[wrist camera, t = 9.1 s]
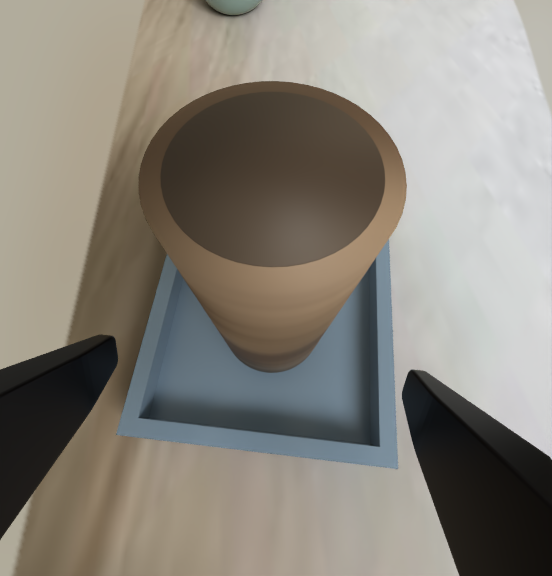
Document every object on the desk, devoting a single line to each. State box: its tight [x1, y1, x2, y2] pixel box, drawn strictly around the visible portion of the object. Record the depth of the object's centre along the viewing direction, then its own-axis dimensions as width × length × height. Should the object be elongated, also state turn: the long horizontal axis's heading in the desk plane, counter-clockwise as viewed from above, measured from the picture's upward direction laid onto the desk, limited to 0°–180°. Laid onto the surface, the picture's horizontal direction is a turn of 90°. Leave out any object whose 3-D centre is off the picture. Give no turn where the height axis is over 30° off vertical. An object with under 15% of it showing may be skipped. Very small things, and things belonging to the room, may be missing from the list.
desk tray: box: [116, 239, 398, 469], centre depth 17 cm, size 13×13×2 cm
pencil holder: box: [139, 81, 407, 373], centre depth 12 cm, size 6×6×12 cm
